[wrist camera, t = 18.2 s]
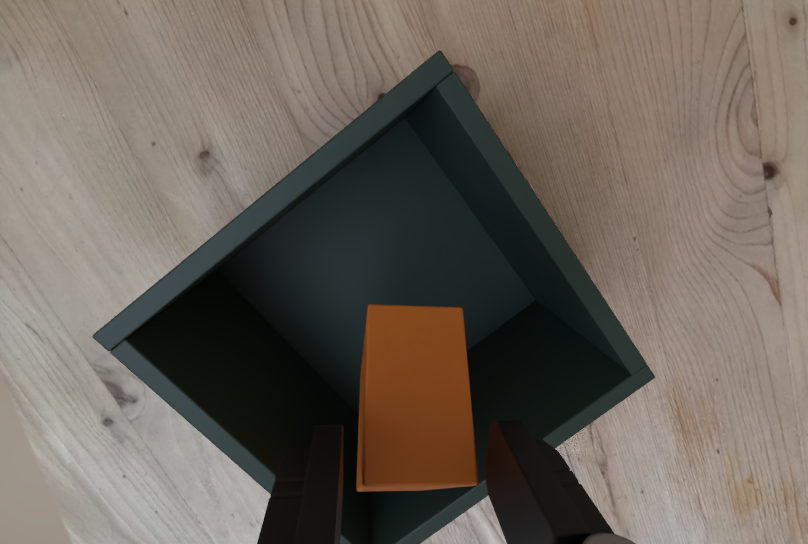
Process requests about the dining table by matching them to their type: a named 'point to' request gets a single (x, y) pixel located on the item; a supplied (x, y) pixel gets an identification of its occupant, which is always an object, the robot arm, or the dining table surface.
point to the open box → (381, 302)
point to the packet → (415, 401)
